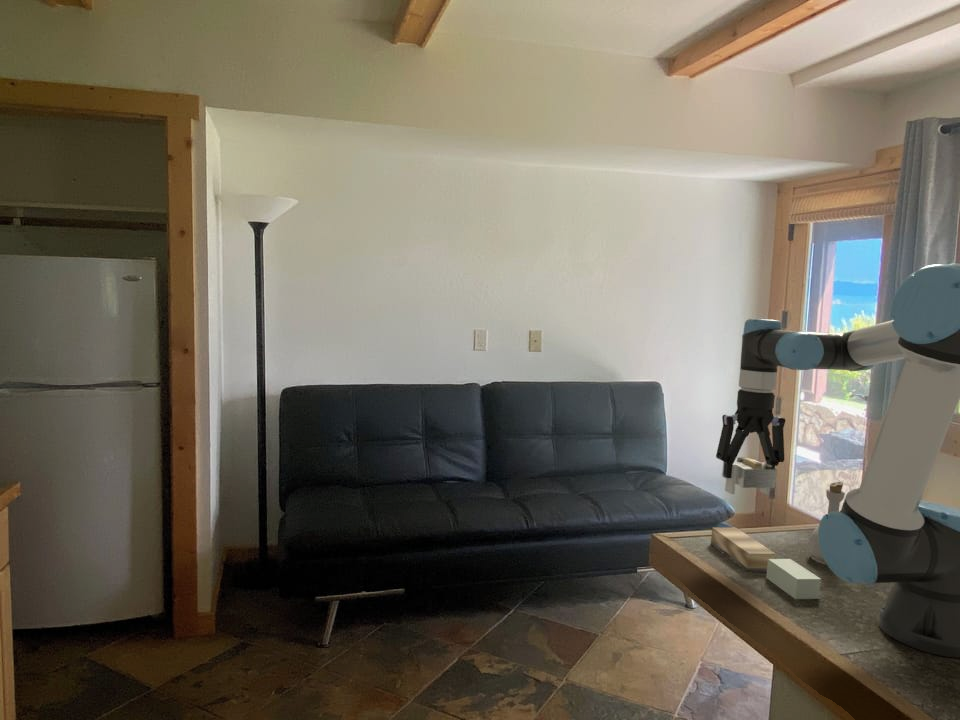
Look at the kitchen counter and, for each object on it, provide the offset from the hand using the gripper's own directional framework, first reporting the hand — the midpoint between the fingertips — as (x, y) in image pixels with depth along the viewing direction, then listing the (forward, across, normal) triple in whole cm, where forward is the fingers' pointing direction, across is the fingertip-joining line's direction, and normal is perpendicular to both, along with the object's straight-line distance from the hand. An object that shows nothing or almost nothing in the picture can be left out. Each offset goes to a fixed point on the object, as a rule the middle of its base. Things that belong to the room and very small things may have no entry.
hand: (747, 492), depth 152 cm
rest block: (+15, -2, +16) cm, 22 cm away
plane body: (+15, 0, 0) cm, 15 cm away
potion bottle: (+15, -20, +2) cm, 25 cm away
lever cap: (-2, 0, 0) cm, 2 cm away
